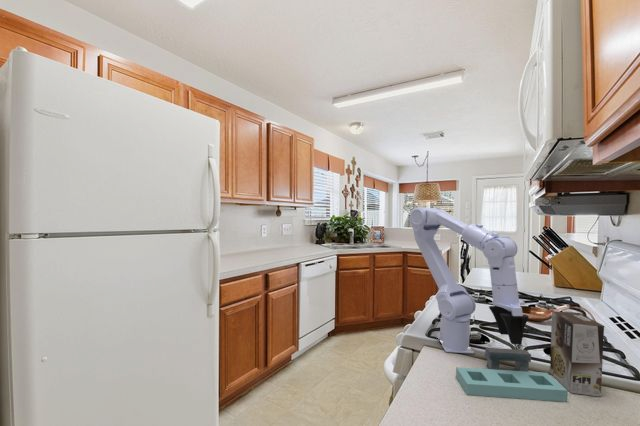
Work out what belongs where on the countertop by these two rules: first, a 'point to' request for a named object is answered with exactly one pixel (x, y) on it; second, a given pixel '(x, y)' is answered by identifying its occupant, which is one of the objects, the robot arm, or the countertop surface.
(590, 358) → the coffee box
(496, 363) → the grey arch block
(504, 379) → the teal slotted board
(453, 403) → the countertop surface
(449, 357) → the countertop surface
